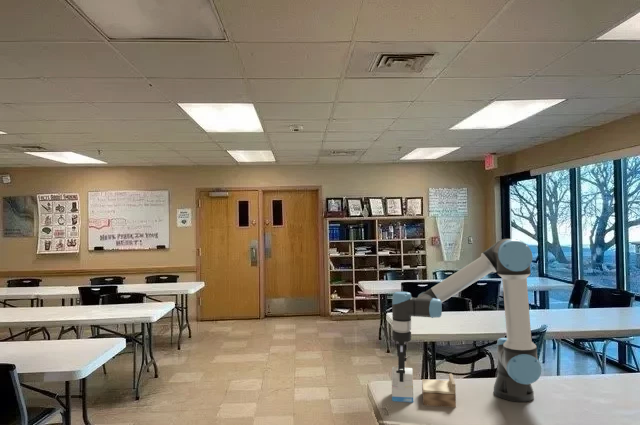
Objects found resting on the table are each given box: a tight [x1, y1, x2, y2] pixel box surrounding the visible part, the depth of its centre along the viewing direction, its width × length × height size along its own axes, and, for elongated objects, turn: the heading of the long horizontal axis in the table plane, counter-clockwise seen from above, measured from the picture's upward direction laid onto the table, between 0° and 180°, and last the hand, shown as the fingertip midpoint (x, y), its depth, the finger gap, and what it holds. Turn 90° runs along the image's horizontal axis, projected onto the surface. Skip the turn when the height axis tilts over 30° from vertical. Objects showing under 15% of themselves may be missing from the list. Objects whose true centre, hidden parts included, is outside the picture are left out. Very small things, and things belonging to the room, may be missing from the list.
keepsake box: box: [421, 383, 457, 408], centre depth 169 cm, size 12×12×5 cm
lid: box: [421, 373, 457, 395], centre depth 169 cm, size 12×12×4 cm
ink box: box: [391, 366, 414, 403], centre depth 172 cm, size 9×8×13 cm
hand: (401, 383), depth 172 cm, fingers open, 13 cm apart
